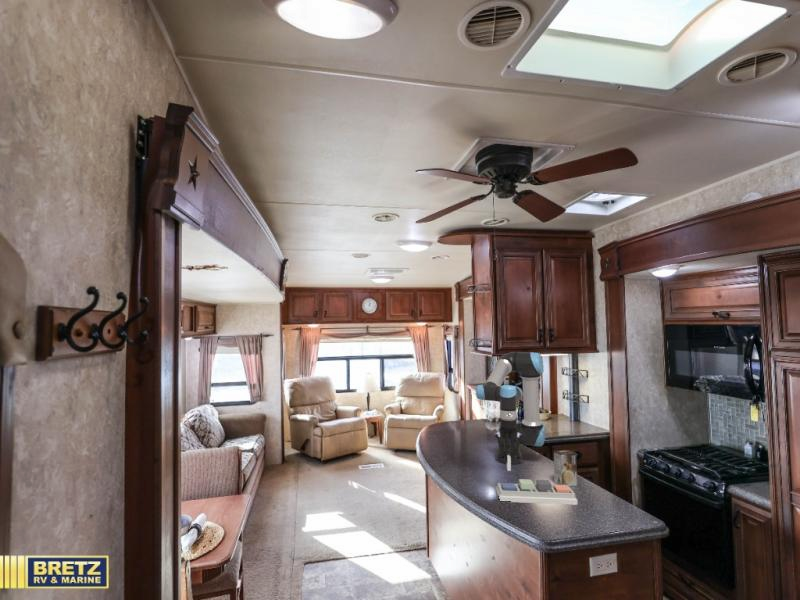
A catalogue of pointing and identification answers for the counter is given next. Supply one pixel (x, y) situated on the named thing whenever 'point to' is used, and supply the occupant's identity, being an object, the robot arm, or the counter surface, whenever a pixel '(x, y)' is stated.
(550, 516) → the counter surface
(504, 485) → the key slate blue
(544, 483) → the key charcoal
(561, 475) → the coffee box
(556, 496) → the keypad board
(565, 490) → the key coral
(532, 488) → the key sage
